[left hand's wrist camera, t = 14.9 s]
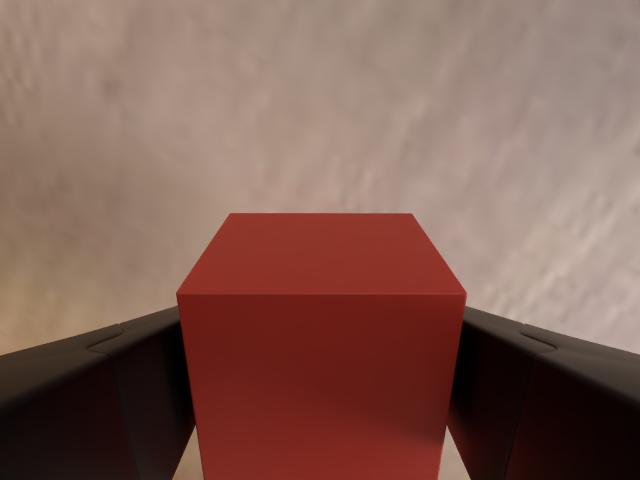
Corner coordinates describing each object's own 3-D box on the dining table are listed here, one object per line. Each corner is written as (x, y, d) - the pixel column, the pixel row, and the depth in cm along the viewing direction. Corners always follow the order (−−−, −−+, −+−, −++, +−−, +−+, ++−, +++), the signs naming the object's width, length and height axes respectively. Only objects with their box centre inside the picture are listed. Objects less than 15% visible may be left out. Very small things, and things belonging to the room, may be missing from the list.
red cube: (229, 212, 11) (174, 292, 7) (412, 212, 11) (468, 292, 7) (242, 362, 13) (205, 496, 9) (398, 362, 13) (436, 496, 9)
